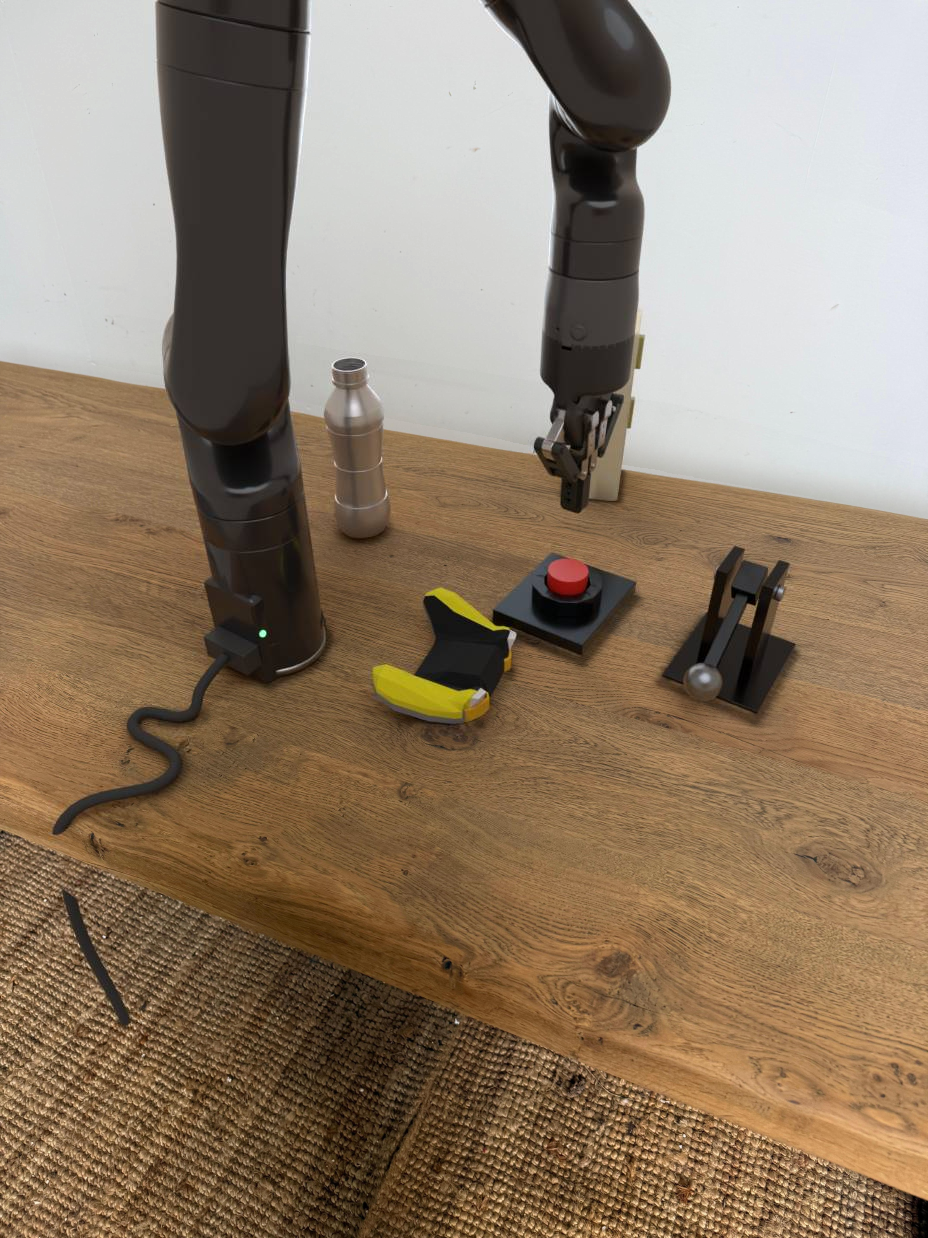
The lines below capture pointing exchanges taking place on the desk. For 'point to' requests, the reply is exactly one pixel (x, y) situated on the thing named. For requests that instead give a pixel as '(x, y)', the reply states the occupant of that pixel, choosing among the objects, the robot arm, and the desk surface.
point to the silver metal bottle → (357, 450)
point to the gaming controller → (450, 665)
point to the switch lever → (725, 632)
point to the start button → (567, 576)
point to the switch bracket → (739, 639)
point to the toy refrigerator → (617, 434)
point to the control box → (564, 607)
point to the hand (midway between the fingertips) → (573, 507)
